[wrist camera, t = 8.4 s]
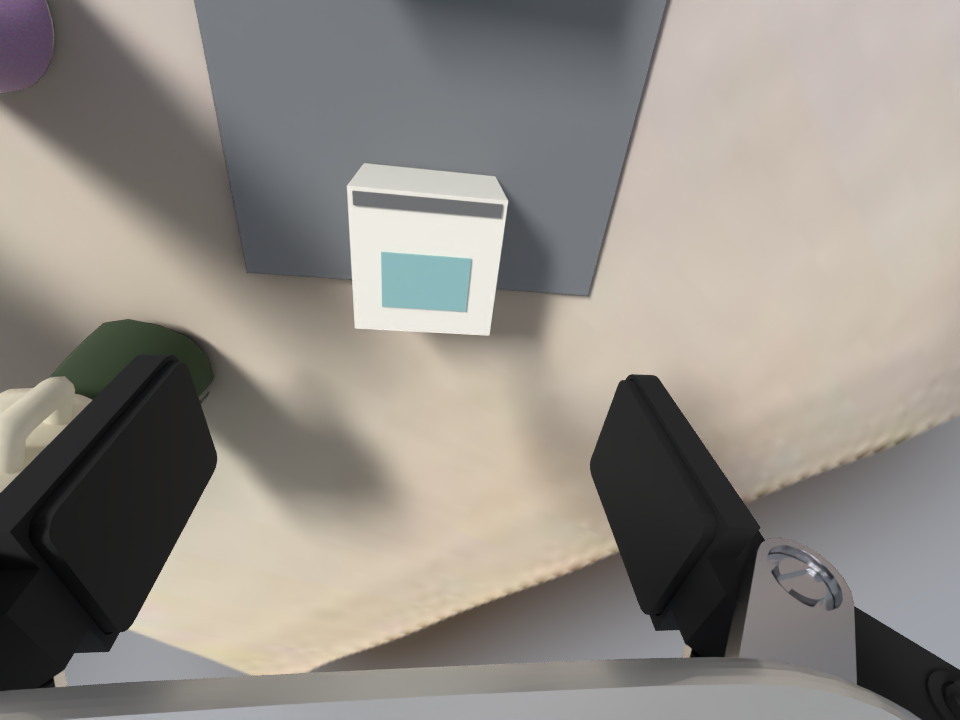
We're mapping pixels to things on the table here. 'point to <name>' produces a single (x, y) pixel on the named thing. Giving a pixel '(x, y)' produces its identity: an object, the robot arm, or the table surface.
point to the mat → (427, 118)
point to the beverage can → (24, 43)
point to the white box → (424, 249)
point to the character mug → (84, 387)
